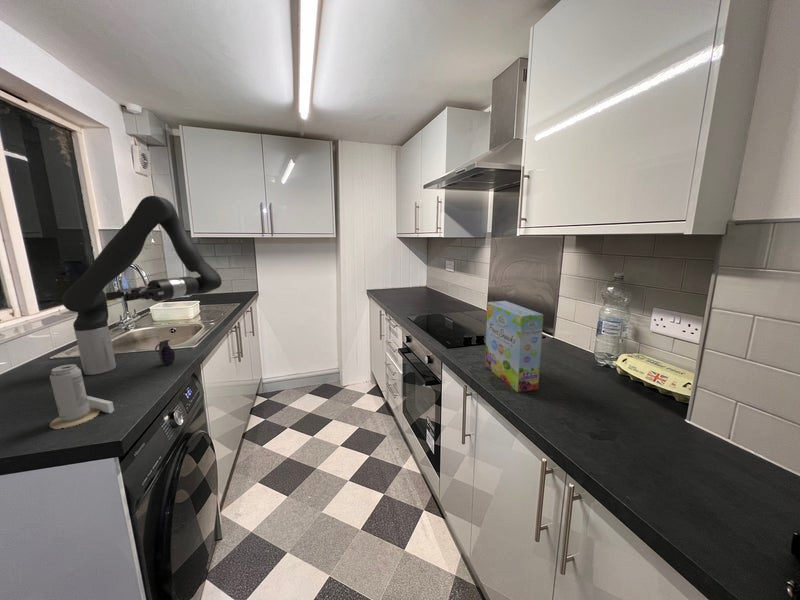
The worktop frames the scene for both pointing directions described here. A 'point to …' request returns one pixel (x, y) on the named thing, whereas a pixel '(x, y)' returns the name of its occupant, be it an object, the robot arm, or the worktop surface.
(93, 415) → the cork coaster
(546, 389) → the worktop surface
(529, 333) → the snack box
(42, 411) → the worktop surface
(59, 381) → the energy drink can
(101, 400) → the white rectangular bar
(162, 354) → the hand grenade
